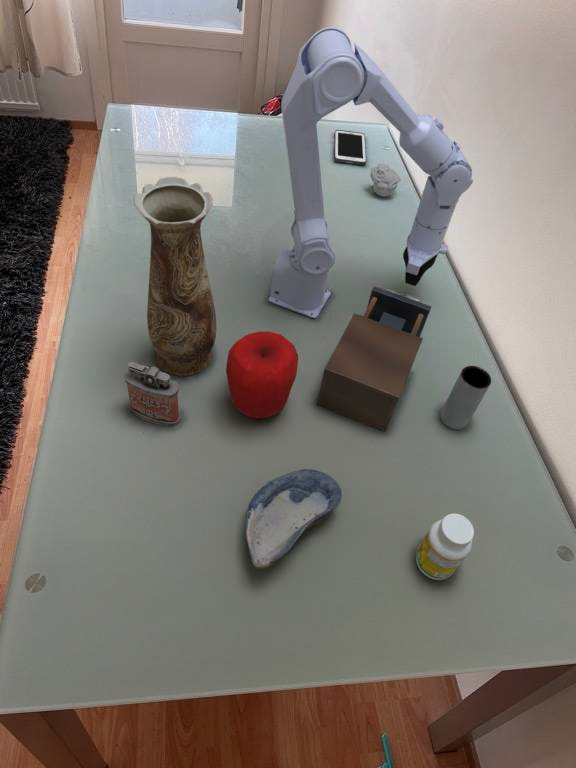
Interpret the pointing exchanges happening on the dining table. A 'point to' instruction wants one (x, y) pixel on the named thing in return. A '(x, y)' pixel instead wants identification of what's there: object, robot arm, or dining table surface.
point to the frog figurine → (384, 179)
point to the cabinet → (368, 371)
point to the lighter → (152, 395)
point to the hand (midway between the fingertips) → (411, 282)
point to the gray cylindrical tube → (465, 397)
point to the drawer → (398, 308)
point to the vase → (178, 275)
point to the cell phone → (350, 147)
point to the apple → (261, 373)
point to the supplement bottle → (445, 546)
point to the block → (392, 321)
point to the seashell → (287, 512)
